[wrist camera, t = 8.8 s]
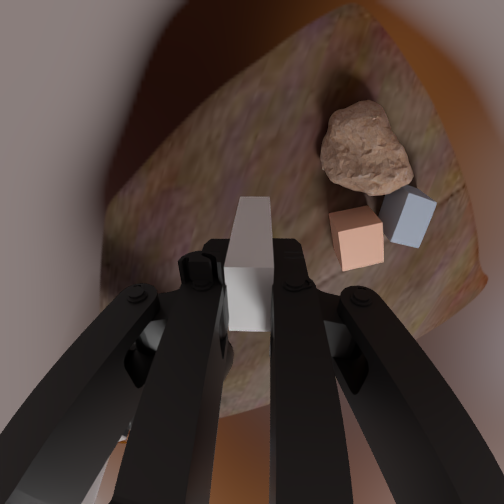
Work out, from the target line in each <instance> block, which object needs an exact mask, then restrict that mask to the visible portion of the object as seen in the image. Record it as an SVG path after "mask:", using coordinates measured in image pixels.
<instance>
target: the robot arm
mask: <svg viewBox="0 0 504 504" xmlns="http://www.w3.org/2000/svg"><path fill="white" fill-rule="evenodd" d="M178 266H179V272H180V277H181V283H182V284H181V287H180V289H178V290H176V291H172V292H167V293H161V294H157V290H156V289H155V287H154V286H152V285H149V284H143V283H140V284H134V285H132V286H129V287H127V288H126V289H124V290H123V291H122V292H121V293H120V294H119V295H118V296H117V297H116V298H115V299H114V300H113V301H112V302H111V303H110V304H109V305H108V306H107V307H106V308H105V309H104V310H103V311H102V312H101V313H100V314H99V315H98V317H97V318H96V319H95V320H94V321H93V322H92V323H91V324H90V325H89V326H88V327H87V329H86V330H85V331H84V332H83V333H82V334H81V335H80V336H79V337H78V338H77V339H76V341H75V342H74V343H73V344H72V345H71V346H70V347H69V348H68V350H67V351H66V352H65V353H64V354H63V355H62V356H61V358H60V359H59V360H58V361H57V362H56V363H55V365H54V366H53V367H52V368H51V369H50V371H49V372H48V373H47V374H46V375H45V377H44V378H43V379H42V380H41V381H40V383H39V384H38V385H37V386H36V388H35V389H34V390H33V391H32V393H31V394H30V395H29V396H28V398H27V399H26V400H25V402H24V403H23V404H22V405H21V407H20V408H19V409H18V411H17V412H16V414H15V415H14V416H13V417H12V419H11V420H10V422H9V423H8V424H7V426H6V427H5V429H4V430H3V431H2V433H1V434H0V504H94V503H95V500H96V496H97V493H98V490H99V487H100V484H101V480H102V477H103V474H104V471H105V468H106V465H107V462H108V459H109V456H110V455H111V453H112V451H113V450H114V448H115V446H116V445H117V443H118V442H119V441H122V440H125V439H126V438H127V435H128V432H129V430H130V434H129V437H128V440H127V444H126V448H125V452H124V455H123V458H122V462H121V466H120V470H119V474H118V478H117V482H116V486H115V490H114V494H113V497H112V500H111V501H110V503H109V504H209V498H210V489H211V480H212V471H213V461H214V453H215V444H216V435H217V428H218V419H219V411H220V403H221V395H222V387H223V381H224V380H225V378H226V376H227V374H228V373H229V371H230V369H231V367H232V364H233V356H234V352H233V349H232V346H231V345H230V343H229V342H228V335H227V330H228V323H229V331H270V332H271V337H270V354H269V356H270V485H269V486H270V487H269V504H353V495H352V486H351V476H350V468H349V460H348V452H347V446H346V438H345V431H344V425H343V418H342V413H341V406H340V400H339V395H338V389H337V384H336V378H337V380H338V382H339V384H340V386H341V388H342V391H343V392H344V395H345V397H346V398H347V401H348V403H349V405H350V407H351V409H352V411H353V413H354V415H355V417H356V419H357V421H358V423H359V425H360V427H361V429H362V431H363V434H364V436H365V438H366V440H367V442H368V444H369V446H370V448H371V450H372V452H373V455H374V457H375V459H376V461H377V463H378V465H379V467H380V469H381V472H382V474H383V476H384V478H385V480H386V482H387V484H388V487H389V489H390V491H391V493H392V495H393V498H394V500H395V502H396V504H504V475H503V473H502V471H501V469H500V467H499V465H498V463H497V461H496V460H495V458H494V456H493V454H492V452H491V451H490V449H489V447H488V446H487V444H486V442H485V441H484V439H483V437H482V436H481V434H480V432H479V431H478V429H477V427H476V426H475V424H474V423H473V421H472V419H471V418H470V416H469V415H468V413H467V412H466V410H465V409H464V407H463V406H462V404H461V403H460V401H459V400H458V398H457V397H456V395H455V394H454V392H453V391H452V389H451V388H450V386H449V385H448V384H447V382H446V381H445V380H444V378H443V377H442V375H441V374H440V372H439V371H438V370H437V368H436V367H435V366H434V364H433V363H432V361H431V360H430V359H429V358H428V356H427V355H426V353H425V352H424V351H423V350H422V348H421V347H420V346H419V344H418V343H417V342H416V340H415V339H414V338H413V337H412V335H411V334H410V333H409V331H408V330H407V329H406V328H405V326H404V325H403V324H402V323H401V321H400V320H399V319H398V318H397V316H396V315H395V314H394V313H393V312H392V310H391V309H390V308H389V307H388V306H387V304H386V303H385V302H384V301H383V300H382V298H381V297H380V296H379V295H378V294H377V293H376V292H375V291H373V290H371V289H369V288H367V287H363V286H350V287H347V288H345V289H344V290H343V291H342V292H341V295H340V296H338V295H333V294H329V293H325V292H322V291H320V290H318V289H317V288H316V285H315V284H314V282H313V280H311V279H310V278H309V276H308V272H307V268H306V263H305V259H304V255H303V251H302V247H301V244H300V243H299V242H298V241H297V240H296V239H279V238H272V225H271V209H270V197H240V200H239V204H238V208H237V212H236V217H235V221H234V225H233V229H232V234H231V238H230V239H210V240H209V241H208V242H207V243H206V244H204V246H203V249H202V251H195V252H191V253H188V254H186V255H184V256H182V257H181V258H180V259H179V260H178ZM335 376H336V378H335Z"/></svg>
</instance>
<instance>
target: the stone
mask: <svg viewBox="0 0 504 504" xmlns="http://www.w3.org/2000/svg"><path fill="white" fill-rule="evenodd" d="M320 159H321V163H322V170H325V172H326V175H327V176H328V178H329V179H330V181H332V182H333V183H335V184H339V185H341V186H343V187H345V188H349V189H351V190H354V191H362V192H364V193H366V194H368V195H369V196H378V195H385V194H390V193H392V192H393V191H395V190H398V189H400V187H402V186H405V185H407V184H409V183H410V182H411V181H412V178H413V177H414V174H413V171H412V169H411V166H410V164H409V161H408V155H407V154H406V151H405V149H404V147H403V146H402V145H401V144H400V143H399V141H398V139H397V137H396V135H395V134H394V133H393V132H392V131H391V127H390V124H389V121H388V118H387V115H386V113H385V110H384V109H383V108H382V106H381V105H380V104H378V103H376V102H373V101H370V100H366V101H359V102H357V103H355V104H353V105H351V106H349V107H347V108H345V109H339V110H337V111H335V112H334V113H333V114H332V115H331V117H330V118H329V123H328V130H327V133H326V135H325V136H324V139H323V141H322V147H321V155H320Z"/></svg>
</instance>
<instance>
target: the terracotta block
mask: <svg viewBox="0 0 504 504" xmlns="http://www.w3.org/2000/svg"><path fill="white" fill-rule="evenodd" d="M329 219H330V226H331V232H332V239H333V246H334V251H335V253H336V256H337V258H338V261H339V263H340V266H341V268H342V271H347V270H351V269H355V268H360V267H364V266H368V265H373V264H377V263H381V262H384V247H383V222H382V221H381V220H380V219H379V218H378V217H377V215H376V214H375V213H374V212H373V211H372V210H371V208H370V207H369V206H368V205H367V206H362V207H357V208H352V209H347V210H342V211H337V212H333V213H329Z"/></svg>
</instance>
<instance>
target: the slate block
mask: <svg viewBox="0 0 504 504" xmlns="http://www.w3.org/2000/svg"><path fill="white" fill-rule="evenodd" d="M436 204H437V202H435V201H434V200H433V199H431V198H430V197H429V196H427V195H426V194H424V193H423V192H422V191H420V190H419V189H417V188H415V187H412V186H409V185H405V186H402V187H400V189H398V190H395V191H393V192H392V193H390V194H386V195H385V198H384V201H383V203H382V206H381V209H380V212H379V215H378V218H379V219H380V220H381V221H382V222H383V233H384V234H385V235H386V236H387V238H388V239H389V240H390V242H394V243H398V244H403V245H407V246H411V247H415V248H419V246H420V244H421V241H422V239H423V237H424V234H425V232H426V230H427V227H428V225H429V222H430V220H431V217H432V215H433V212H434V209H435V207H436Z"/></svg>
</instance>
